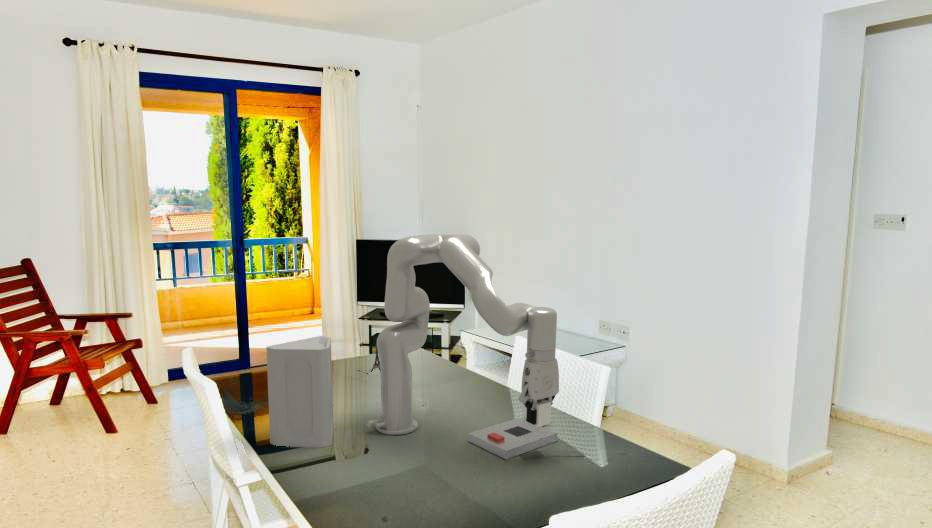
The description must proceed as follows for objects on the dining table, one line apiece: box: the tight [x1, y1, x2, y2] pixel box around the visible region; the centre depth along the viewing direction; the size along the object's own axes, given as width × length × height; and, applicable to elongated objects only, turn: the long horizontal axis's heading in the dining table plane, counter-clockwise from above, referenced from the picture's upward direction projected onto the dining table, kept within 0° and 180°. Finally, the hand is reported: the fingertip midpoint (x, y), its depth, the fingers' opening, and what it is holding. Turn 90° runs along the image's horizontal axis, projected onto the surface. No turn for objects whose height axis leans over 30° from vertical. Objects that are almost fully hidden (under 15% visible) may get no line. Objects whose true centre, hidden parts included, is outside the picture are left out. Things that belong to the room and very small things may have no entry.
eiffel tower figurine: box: [370, 342, 380, 372], centre depth 245 cm, size 15×10×13 cm
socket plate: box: [467, 417, 559, 460], centre depth 172 cm, size 20×16×3 cm
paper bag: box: [265, 335, 334, 448], centre depth 173 cm, size 19×15×28 cm
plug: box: [526, 399, 552, 427], centre depth 160 cm, size 4×4×7 cm
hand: (538, 420), depth 160 cm, fingers closed on plug, 4 cm apart
